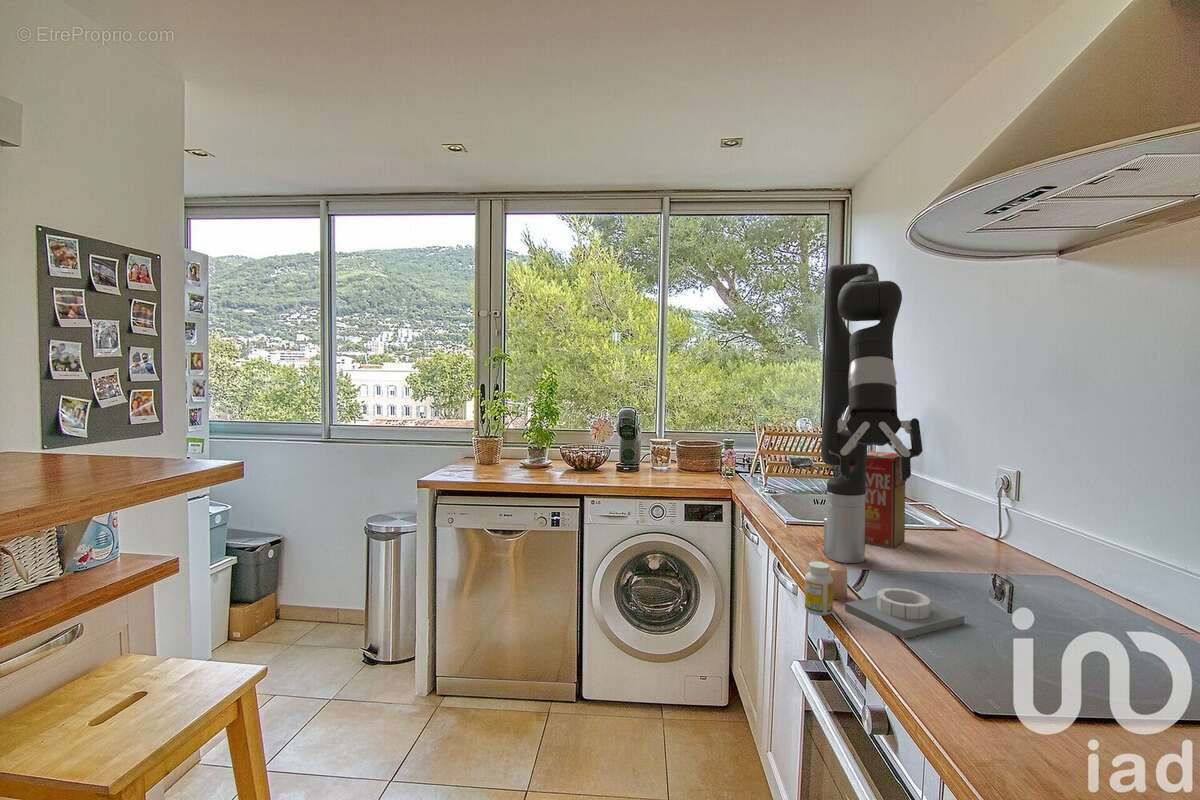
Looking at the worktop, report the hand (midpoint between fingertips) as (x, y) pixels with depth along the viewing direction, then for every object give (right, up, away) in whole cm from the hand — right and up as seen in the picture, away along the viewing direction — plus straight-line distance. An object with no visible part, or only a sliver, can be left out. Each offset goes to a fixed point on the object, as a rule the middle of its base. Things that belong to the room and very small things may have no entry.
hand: (874, 480), depth 99 cm
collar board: (+14, -30, +19) cm, 38 cm away
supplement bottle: (-1, -30, +22) cm, 37 cm away
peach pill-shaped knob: (+5, -29, +30) cm, 42 cm away
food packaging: (+32, -27, +69) cm, 81 cm away
